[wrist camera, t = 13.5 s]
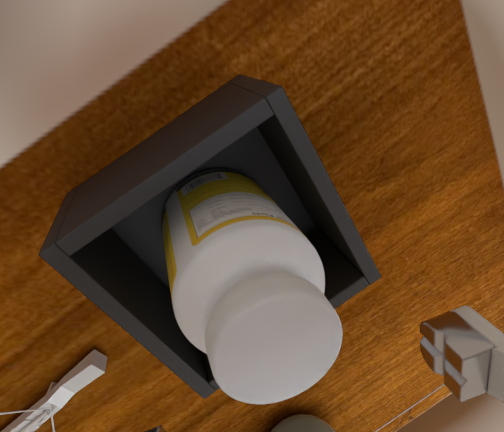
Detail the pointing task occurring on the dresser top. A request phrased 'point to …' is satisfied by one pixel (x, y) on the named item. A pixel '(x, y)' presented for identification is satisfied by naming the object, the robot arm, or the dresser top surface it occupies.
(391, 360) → the dresser top surface
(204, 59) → the dresser top surface
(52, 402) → the crossbow
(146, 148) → the bin
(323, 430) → the cup
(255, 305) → the pill bottle
